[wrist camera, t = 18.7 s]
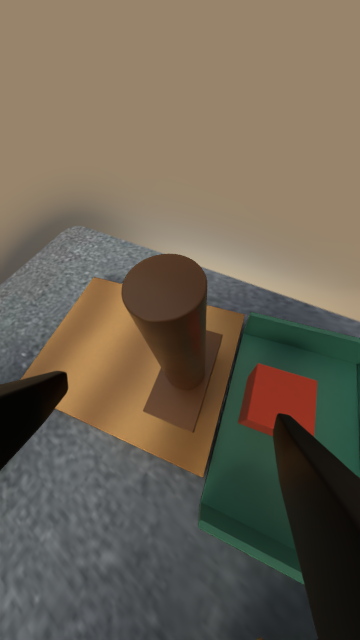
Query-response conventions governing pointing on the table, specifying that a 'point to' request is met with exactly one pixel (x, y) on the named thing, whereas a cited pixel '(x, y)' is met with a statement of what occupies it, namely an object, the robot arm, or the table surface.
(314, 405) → the block
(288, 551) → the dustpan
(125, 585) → the table surface
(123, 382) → the board
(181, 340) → the brush
